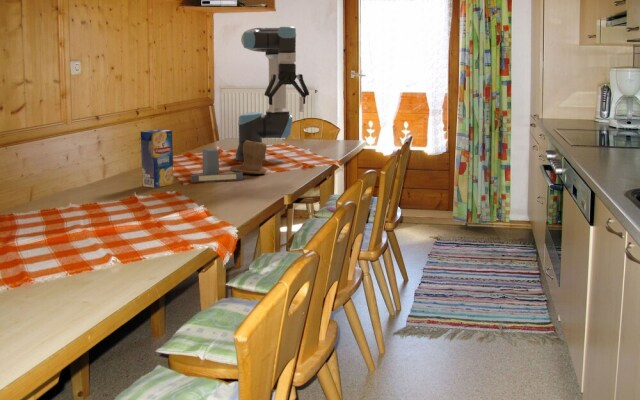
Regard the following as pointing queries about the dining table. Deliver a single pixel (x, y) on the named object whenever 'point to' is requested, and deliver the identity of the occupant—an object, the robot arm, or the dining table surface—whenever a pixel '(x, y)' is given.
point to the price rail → (216, 177)
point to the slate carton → (210, 161)
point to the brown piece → (251, 158)
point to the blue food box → (157, 158)
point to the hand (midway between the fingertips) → (287, 112)
